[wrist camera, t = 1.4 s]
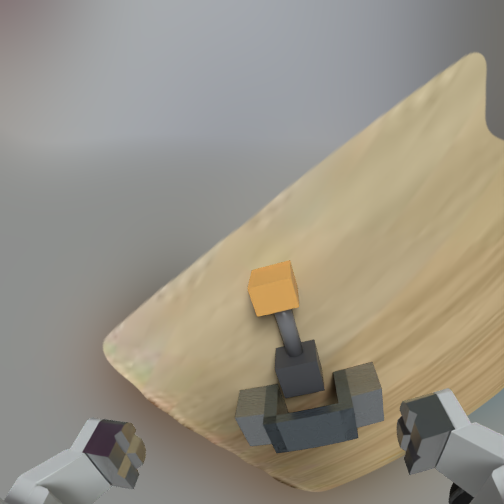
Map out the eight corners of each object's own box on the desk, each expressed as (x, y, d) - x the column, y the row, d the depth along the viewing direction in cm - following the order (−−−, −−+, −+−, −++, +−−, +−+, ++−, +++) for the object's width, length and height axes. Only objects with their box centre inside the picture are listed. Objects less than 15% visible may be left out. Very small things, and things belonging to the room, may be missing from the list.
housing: (372, 361, 35) (385, 398, 29) (376, 394, 37) (386, 430, 31) (239, 390, 38) (232, 428, 32) (253, 419, 40) (249, 456, 34)
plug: (292, 259, 32) (293, 277, 28) (321, 368, 36) (325, 393, 32) (249, 270, 33) (244, 289, 29) (285, 375, 37) (285, 401, 33)
